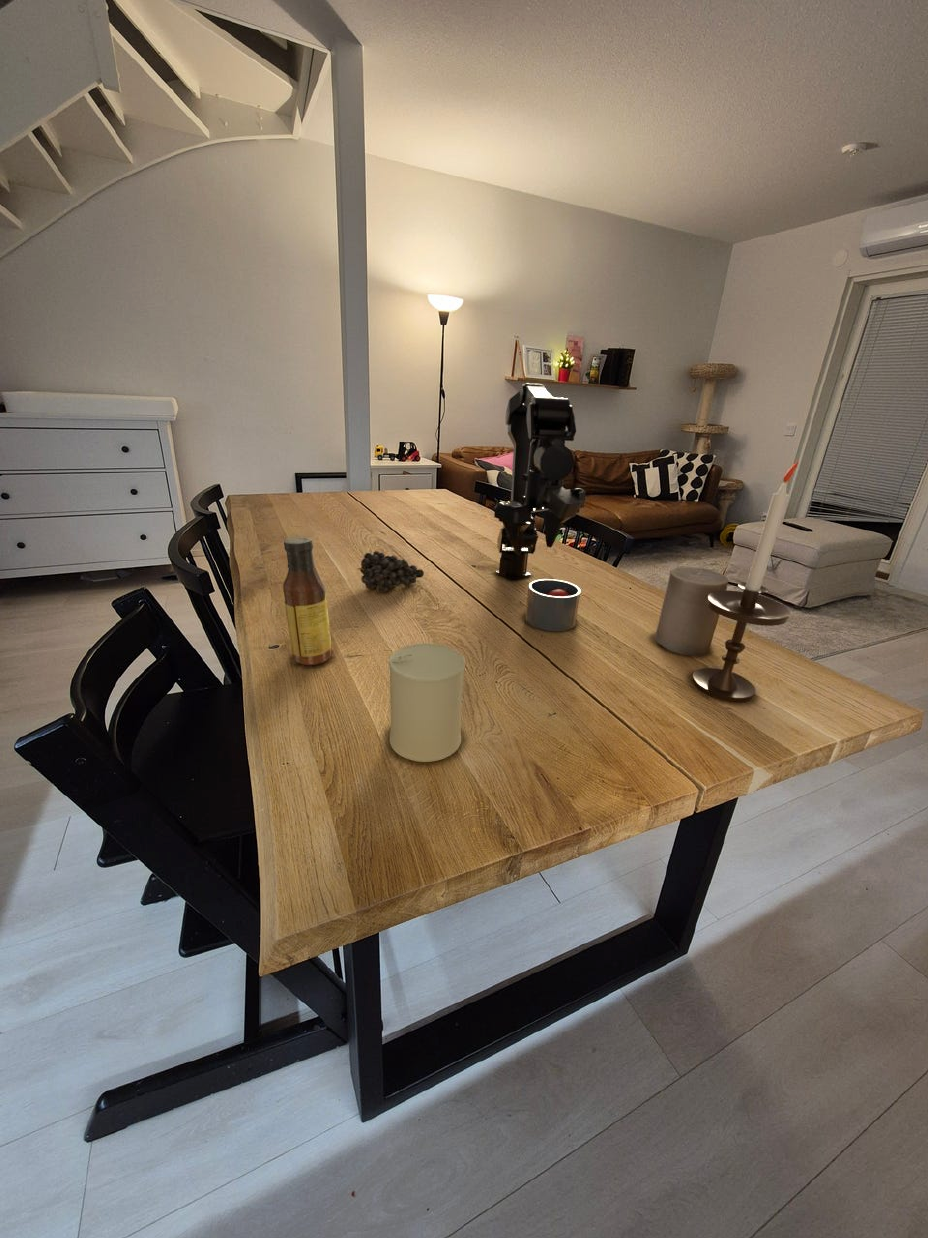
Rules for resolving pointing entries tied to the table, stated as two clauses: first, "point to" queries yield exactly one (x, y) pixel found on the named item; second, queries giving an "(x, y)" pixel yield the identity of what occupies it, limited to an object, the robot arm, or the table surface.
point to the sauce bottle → (306, 605)
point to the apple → (559, 593)
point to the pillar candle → (689, 610)
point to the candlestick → (746, 611)
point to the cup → (552, 605)
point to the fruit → (387, 572)
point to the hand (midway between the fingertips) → (533, 550)
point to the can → (426, 701)
